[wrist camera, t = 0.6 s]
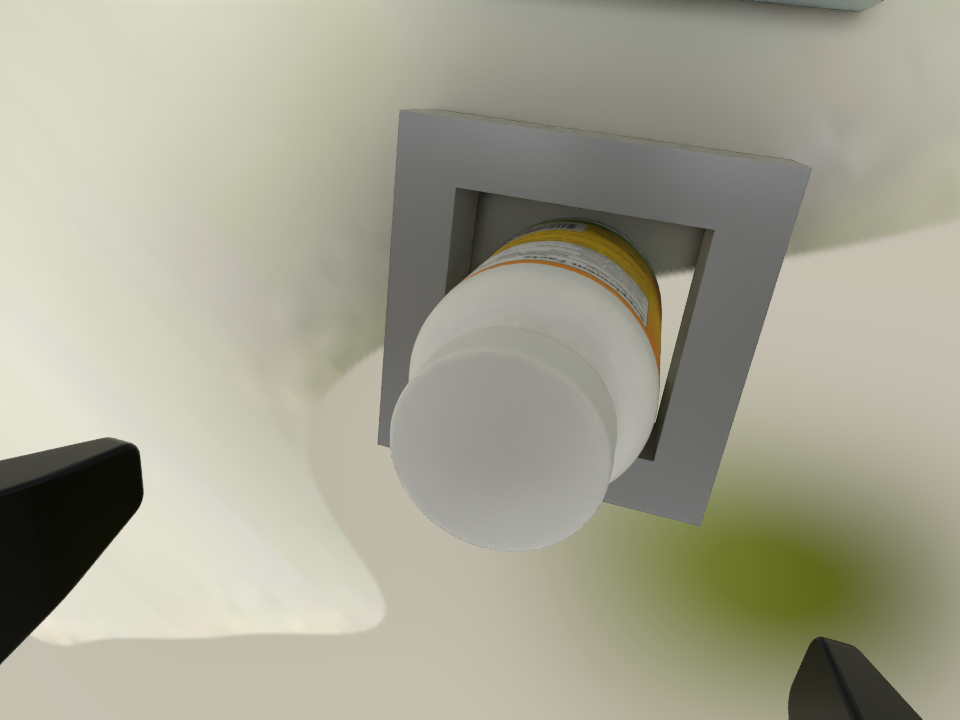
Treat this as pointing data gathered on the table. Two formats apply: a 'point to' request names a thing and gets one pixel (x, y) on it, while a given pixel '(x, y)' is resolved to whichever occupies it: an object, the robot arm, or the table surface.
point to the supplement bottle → (532, 387)
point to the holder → (620, 190)
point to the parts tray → (828, 3)
